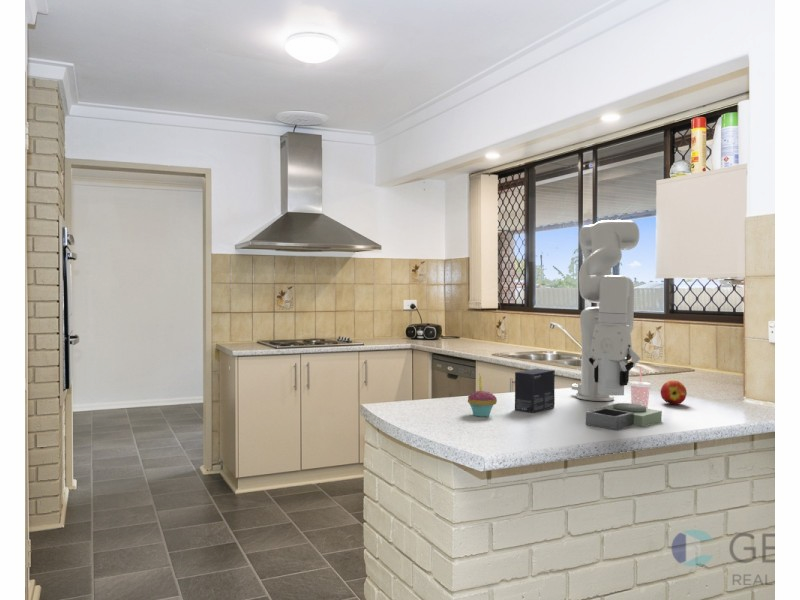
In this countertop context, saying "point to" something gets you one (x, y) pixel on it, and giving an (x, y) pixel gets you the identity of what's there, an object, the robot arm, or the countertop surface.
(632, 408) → the green domed square base
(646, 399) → the beverage cup
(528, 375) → the small box
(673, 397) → the apple
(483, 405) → the cupcake
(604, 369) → the skincare box
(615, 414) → the frame
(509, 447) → the countertop surface
